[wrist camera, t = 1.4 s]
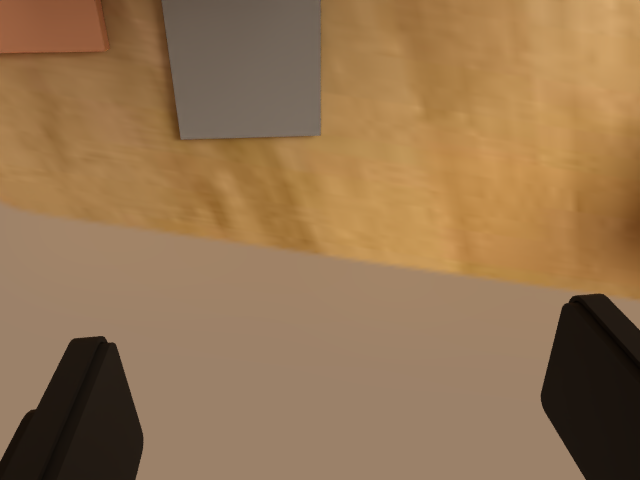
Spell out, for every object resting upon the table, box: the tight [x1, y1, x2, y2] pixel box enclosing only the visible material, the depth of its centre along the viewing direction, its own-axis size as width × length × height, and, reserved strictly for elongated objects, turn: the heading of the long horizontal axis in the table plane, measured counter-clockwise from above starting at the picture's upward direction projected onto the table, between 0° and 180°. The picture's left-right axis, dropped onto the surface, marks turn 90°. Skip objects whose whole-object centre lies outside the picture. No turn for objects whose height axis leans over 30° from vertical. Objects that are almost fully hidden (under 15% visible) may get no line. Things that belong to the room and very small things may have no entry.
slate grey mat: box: [161, 0, 321, 140], centre depth 31 cm, size 9×9×1 cm
